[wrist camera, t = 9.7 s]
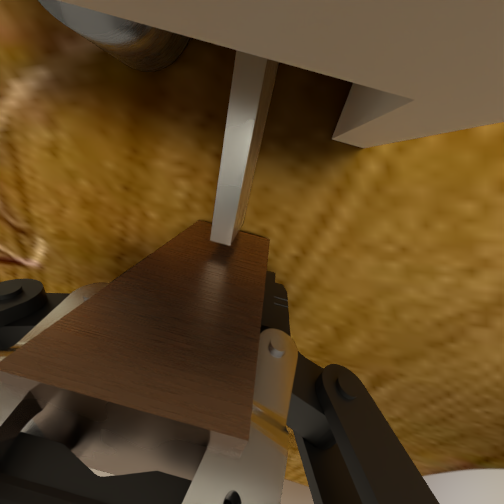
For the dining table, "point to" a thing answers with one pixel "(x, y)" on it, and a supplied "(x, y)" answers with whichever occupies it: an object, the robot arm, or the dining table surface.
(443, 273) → the dining table surface
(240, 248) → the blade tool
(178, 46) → the token
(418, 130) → the plinth shelf
